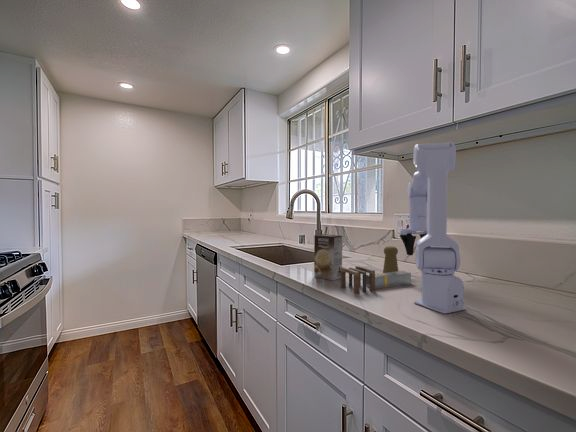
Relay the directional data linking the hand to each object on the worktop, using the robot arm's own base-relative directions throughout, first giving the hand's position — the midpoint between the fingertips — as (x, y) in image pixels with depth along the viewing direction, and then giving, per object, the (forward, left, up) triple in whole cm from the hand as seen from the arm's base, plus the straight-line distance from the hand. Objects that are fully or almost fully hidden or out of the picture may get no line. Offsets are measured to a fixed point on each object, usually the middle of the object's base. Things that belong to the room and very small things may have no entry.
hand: (417, 254), depth 104 cm
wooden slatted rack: (0, +26, -10) cm, 28 cm away
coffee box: (+18, +26, -10) cm, 33 cm away
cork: (+12, +1, -10) cm, 15 cm away
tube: (0, +13, -10) cm, 16 cm away
